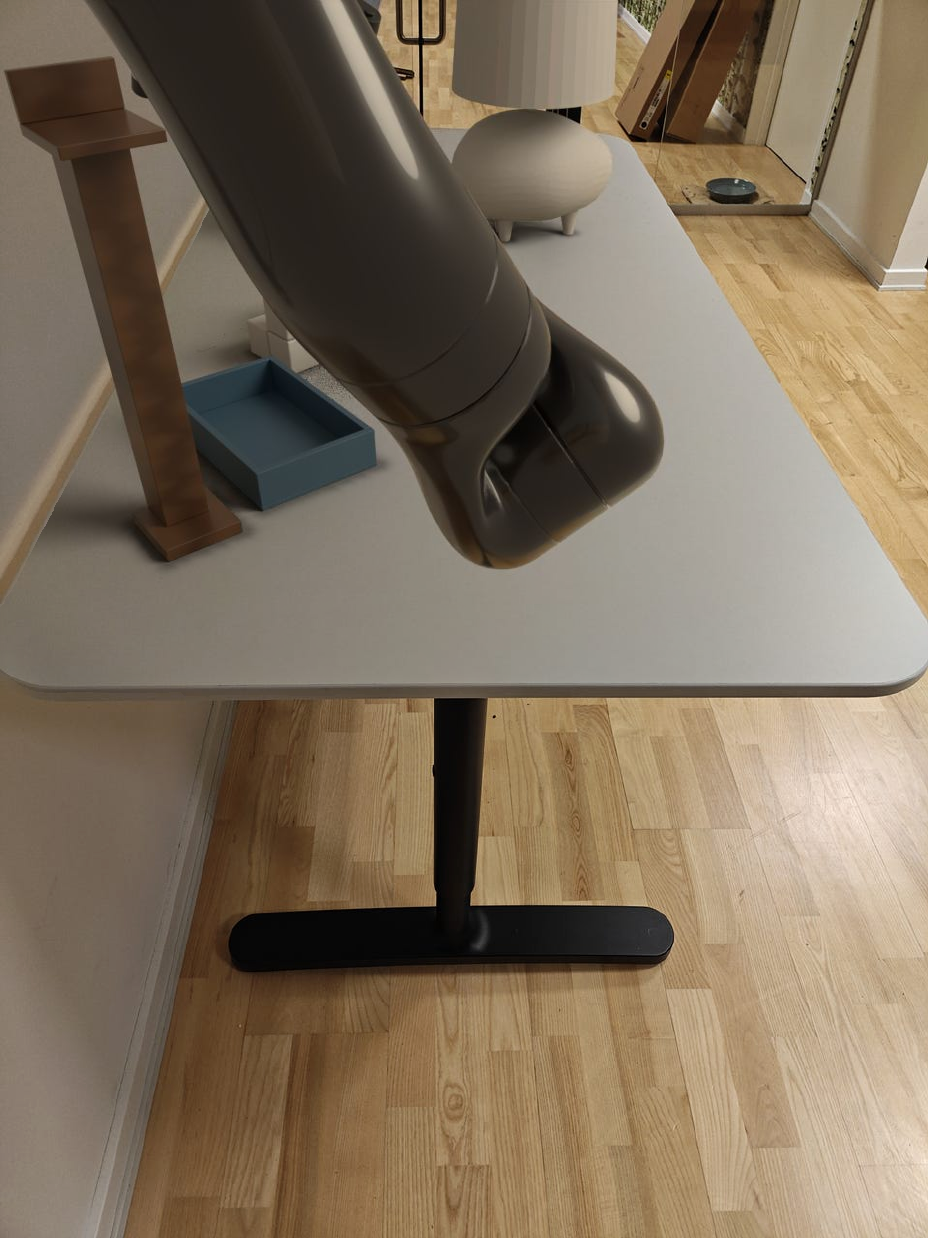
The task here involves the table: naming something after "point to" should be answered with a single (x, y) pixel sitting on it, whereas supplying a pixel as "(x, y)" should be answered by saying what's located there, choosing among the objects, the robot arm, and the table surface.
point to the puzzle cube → (277, 342)
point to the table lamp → (533, 105)
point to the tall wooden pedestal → (123, 286)
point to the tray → (275, 431)
